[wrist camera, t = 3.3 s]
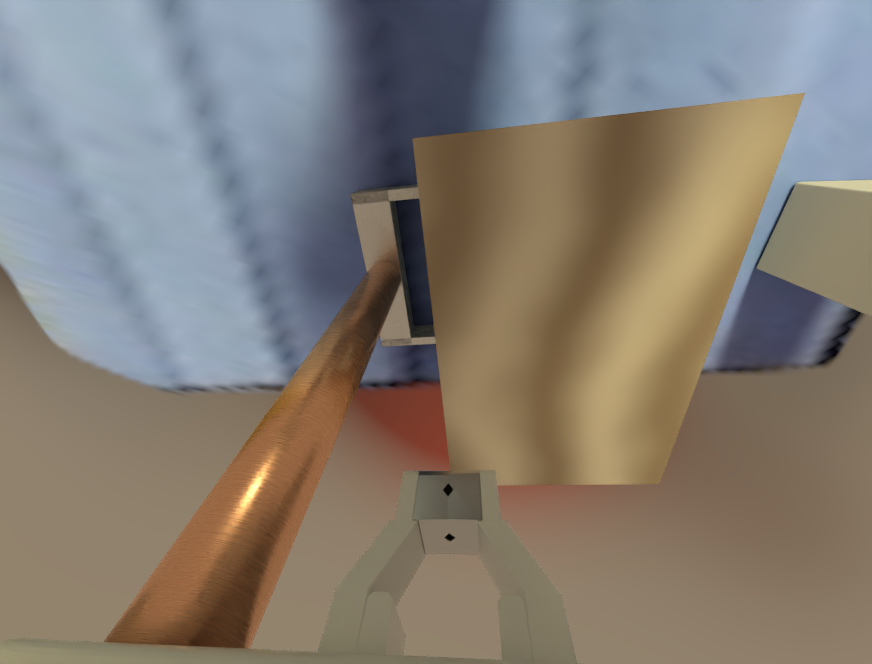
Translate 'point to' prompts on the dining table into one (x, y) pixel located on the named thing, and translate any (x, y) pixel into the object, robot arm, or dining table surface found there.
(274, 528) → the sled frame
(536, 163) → the tunnel
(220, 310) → the dining table surface
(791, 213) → the milk carton
